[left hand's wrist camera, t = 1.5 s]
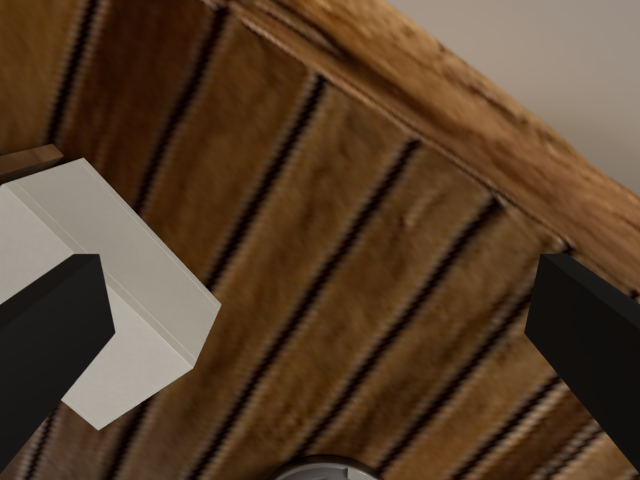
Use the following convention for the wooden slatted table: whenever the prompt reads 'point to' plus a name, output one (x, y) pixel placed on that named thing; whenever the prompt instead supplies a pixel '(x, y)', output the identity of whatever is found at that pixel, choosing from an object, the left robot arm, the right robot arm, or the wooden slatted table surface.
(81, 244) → the cabinet
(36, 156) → the drawer
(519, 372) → the wooden slatted table surface
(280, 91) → the wooden slatted table surface
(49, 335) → the left robot arm
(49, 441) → the wooden slatted table surface
